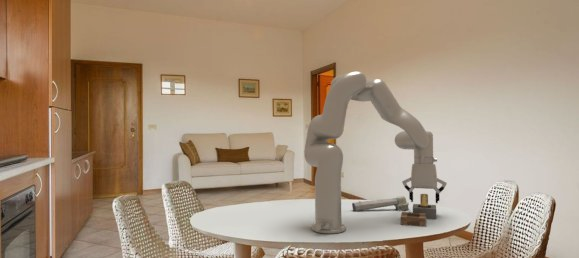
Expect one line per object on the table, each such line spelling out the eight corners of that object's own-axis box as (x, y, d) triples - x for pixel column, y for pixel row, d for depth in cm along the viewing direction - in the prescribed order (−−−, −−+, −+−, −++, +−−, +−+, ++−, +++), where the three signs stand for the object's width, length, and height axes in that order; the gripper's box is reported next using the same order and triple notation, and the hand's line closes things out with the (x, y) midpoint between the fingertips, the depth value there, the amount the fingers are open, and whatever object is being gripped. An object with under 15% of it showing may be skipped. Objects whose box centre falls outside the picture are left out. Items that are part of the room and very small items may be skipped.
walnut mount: (425, 226, 137) (425, 218, 137) (400, 224, 140) (400, 216, 140) (425, 220, 145) (425, 213, 145) (402, 219, 148) (401, 211, 148)
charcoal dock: (436, 219, 147) (436, 209, 147) (412, 217, 150) (412, 207, 150) (435, 214, 156) (435, 204, 156) (413, 213, 159) (413, 203, 159)
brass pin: (428, 217, 151) (428, 195, 151) (420, 216, 152) (420, 194, 152) (428, 215, 154) (427, 194, 154) (420, 215, 155) (420, 193, 155)
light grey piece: (351, 201, 168) (404, 192, 169) (353, 215, 168) (407, 207, 169) (353, 203, 162) (408, 194, 163) (356, 218, 162) (411, 209, 163)
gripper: (445, 160, 154) (446, 201, 154) (402, 160, 160) (403, 199, 160) (446, 162, 147) (447, 205, 147) (401, 161, 153) (402, 202, 153)
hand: (424, 202), depth 153 cm, fingers open, 9 cm apart
